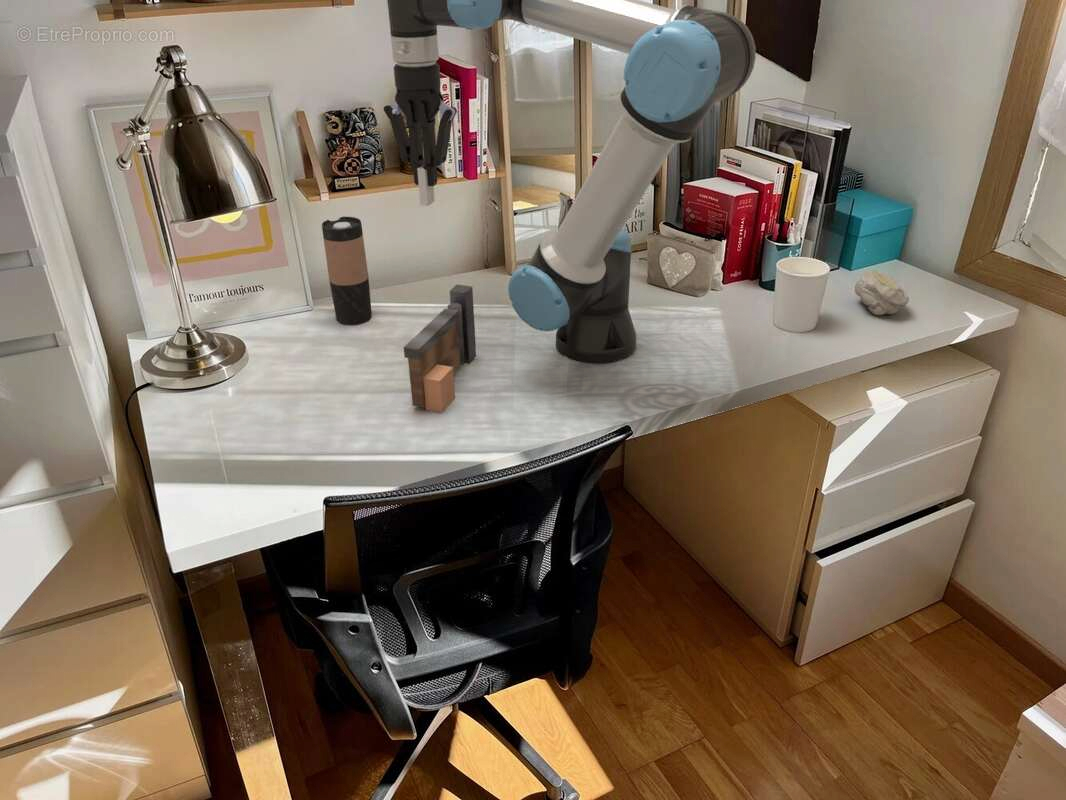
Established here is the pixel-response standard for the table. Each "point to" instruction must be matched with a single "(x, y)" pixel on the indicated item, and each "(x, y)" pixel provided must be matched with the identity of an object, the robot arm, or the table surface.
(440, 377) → the block
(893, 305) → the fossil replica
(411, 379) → the walnut gate
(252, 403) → the table surface
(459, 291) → the hinge post
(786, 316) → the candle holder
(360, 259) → the travel mug
